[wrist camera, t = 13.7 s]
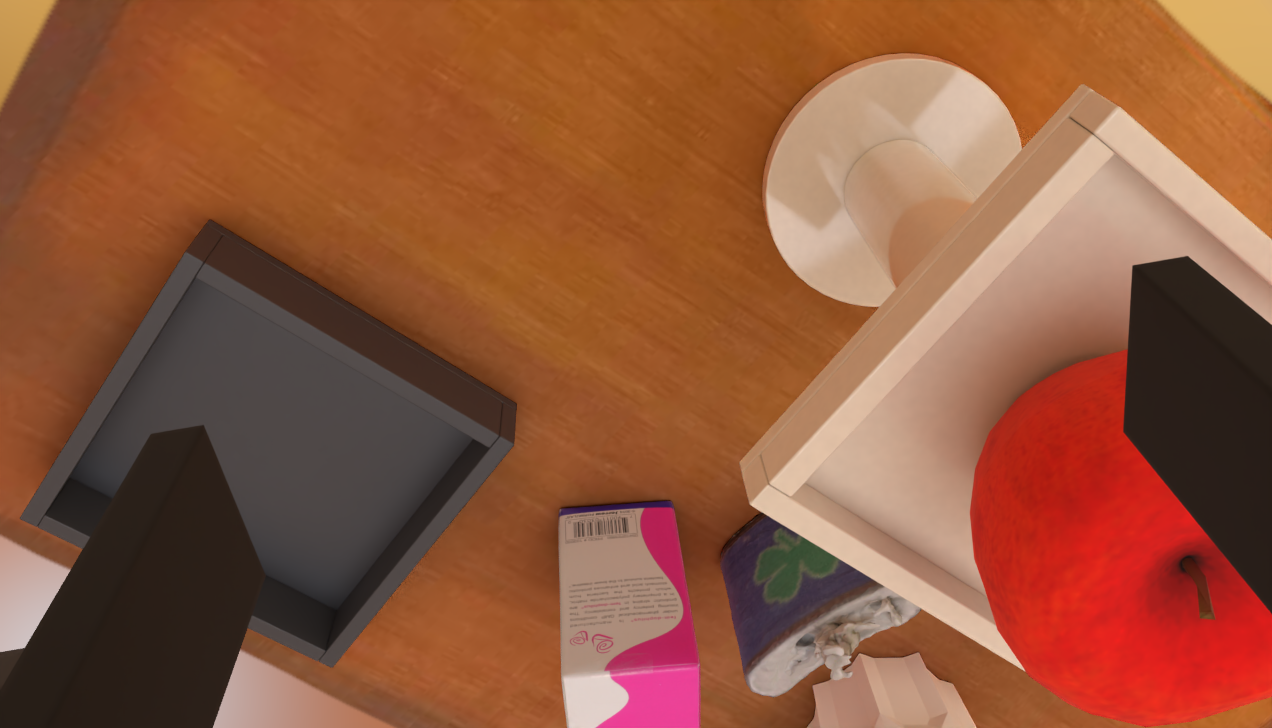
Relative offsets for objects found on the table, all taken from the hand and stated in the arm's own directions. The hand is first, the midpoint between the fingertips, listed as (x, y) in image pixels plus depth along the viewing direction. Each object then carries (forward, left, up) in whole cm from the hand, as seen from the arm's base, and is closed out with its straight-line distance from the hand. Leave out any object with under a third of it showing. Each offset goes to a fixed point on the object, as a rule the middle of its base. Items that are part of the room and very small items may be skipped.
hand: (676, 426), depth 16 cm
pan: (+17, -18, -32) cm, 41 cm away
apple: (+10, +11, -13) cm, 19 cm away
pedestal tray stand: (+10, +11, -32) cm, 35 cm away
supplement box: (+27, -4, -33) cm, 42 cm away
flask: (+27, +5, -33) cm, 42 cm away
